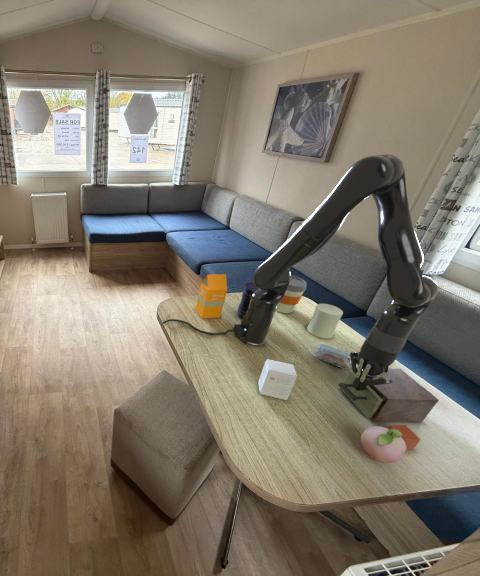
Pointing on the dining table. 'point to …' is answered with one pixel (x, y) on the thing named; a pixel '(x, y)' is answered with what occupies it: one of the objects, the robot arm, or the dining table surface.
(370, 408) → the drawer
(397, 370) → the cabinet
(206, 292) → the orange juice
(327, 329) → the can
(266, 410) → the dining table surface
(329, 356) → the packaged food
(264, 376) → the small box
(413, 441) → the block
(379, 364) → the robot arm
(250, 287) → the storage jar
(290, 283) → the reusable coffee cup
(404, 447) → the decorative fruit
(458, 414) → the dining table surface
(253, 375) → the dining table surface
